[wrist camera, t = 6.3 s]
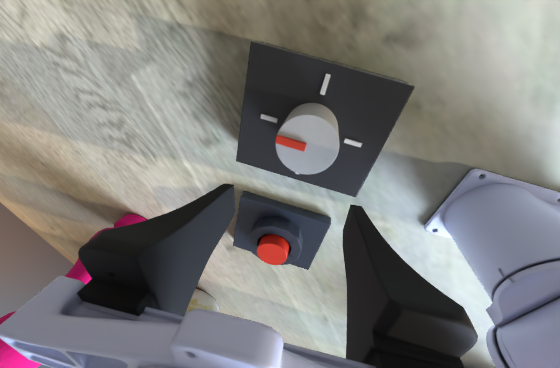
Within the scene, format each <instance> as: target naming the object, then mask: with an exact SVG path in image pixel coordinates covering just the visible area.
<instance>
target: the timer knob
mask: <svg viewBox="0 0 560 368" xmlns="http://www.w3.org/2000/svg"><path fill="white" fill-rule="evenodd" d="M275 143H276V151H277V154H278V157H279V158H280V160H281V162H282V163H283V164H284V165H285V166H286V167H287V168H289V169H290V170H292V171H294V172H297V173H300V174H316V173H319V172H322V171H324V170H325V169H327V168H328V167H329V166H330V165H331V164H332V163H333V162H334V161H335V159H336V157H337V155H338V152H339V132H338V123H337V120H336V117H335V116H334V114H333V113H332V111H330V110H329V109H328V108H327V107H325V106H323V105H321V104H318V103H305V104H302V105H300V106H298V107H296V108H295V109H294V110H292V111H291V113H290V114H289V115H288V117H287V118H286V120H285V122H284V123H283V125H282V126H281V128H280V129H279V131H278V133H277V136H276V141H275Z"/></svg>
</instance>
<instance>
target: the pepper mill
mask: <svg viewBox="0 0 560 368" xmlns="http://www.w3.org/2000/svg"><path fill="white" fill-rule="evenodd" d="M145 220H147V219H145V218H143V217H141V216H138V215H135V214H128V215H125V216H123V217H122V218H121V219H119V220H118V221H117V222H116V223H115V224H114V227H113V228H117V227H121V226H126V225H130V224H134V223H138V222H142V221H145ZM106 229H112V228H105V229H103V230H106ZM101 231H102V230H101ZM101 231H99V232H98V233H96V234H95V235H94V236H93V237H92V238H91V239H93V238H94V237H95V236H96V235H98V234H99V233H100V232H101ZM91 239H90V240H91ZM90 240H89V241H90ZM64 277H68V278H72V279H76V280H79V281H82V282H83V283H85V284H87V283H88V282H89V281H90V280H91V279H92V278H91V276H90V275H89V273H88V272H87V270H86V269H85V267H84V266H83V264H82V263H81V261H80V259H79V258H78V260H77V262H76V263H75V265H74V266H73V268H72V269H71V270H70V271H69V273H68V274H67V275H66V276H64ZM15 312H16V311H15ZM15 312H12V313H9V314H7V315H5V316H3V317H1V318H0V325H1V324H2V323H3V322H4V321H6V320H7V319H8V318H9V317H10V316H11V315H13V314H14V313H15ZM40 365H41V364H40V363H37V362H34V361H31V360H29V359H27V358H26V357H25V356H23V355H22V354H20V353H19V352H18V351H16V350H15V349H14V348H12V347H11V346H10V345H8V344H7V343H6V342H4V341H3V340H1V339H0V368H36V367H38V366H40Z"/></svg>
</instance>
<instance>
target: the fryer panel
mask: <svg viewBox="0 0 560 368" xmlns="http://www.w3.org/2000/svg"><path fill="white" fill-rule="evenodd" d="M414 88H415V86H413V85H411V84H409V83H407V82H405V81H402V80H398V79H395V78H391V77H387V76H384V75H380V74H377V73H373V72H369V71H366V70H362V69H358V68H355V67H351V66H348V65H344V64H340V63H337V62H333V61H329V60H326V59H322V58H318V57H315V56H311V55H308V54H304V53H300V52H297V51H293V50H289V49H286V48H282V47H279V46H275V45H271V44H268V43H264V42H254V41H252V42H251V46H250V54H249V62H248V70H247V78H246V86H245V94H244V102H243V110H242V118H241V126H240V134H239V142H238V150H237V158H236V161H238V162H241V163H244V164H247V165H251V166H254V167H257V168H261V169H264V170H267V171H271V172H274V173H277V174H280V175H284V176H287V177H290V178H294V179H297V180H300V181H304V182H307V183H310V184H313V185H317V186H320V187H323V188H327V189H330V190H333V191H337V192H340V193H343V194H347V195H350V196H353V197H357V195H358V193H359V191H360V189H361V187H362V185H363V183H364V182H365V180H366V178H367V176H368V174H369V172H370V170H371V168H372V167H373V165H374V163H375V161H376V159H377V157H378V155H379V153H380V152H381V150H382V148H383V146H384V144H385V142H386V140H387V139H388V137H389V135H390V133H391V131H392V129H393V127H394V125H395V124H396V122H397V120H398V118H399V116H400V114H401V112H402V110H403V109H404V107H405V105H406V103H407V101H408V99H409V97H410V95H411V94H412V92H413V90H414ZM305 103H318V104H321V105H323V106H325V107H327V108H328V109H329V110H330V111H332V113H333V114H334V116H335V117H336V120H337V123H338V132H339V152H338V155H337V157H336V159H335V161H334V162H333V163H332V164H331V165H330V166H329V167H328V168H327V169H325V170H324V171H322V172H319V173H316V174H300V173H297V172H294V171H292V170H290V169H289V168H287V167H286V166H285V165H284V164H283V163H282V162H281V160H280V158H279V157H278V154H277V151H276V143H275V141H276V136H277V133H278V131H279V129H280V128H281V126H282V125H283V123H284V122H285V120H286V118H287V117H288V115H289V114H290V113H291V111H292V110H294V109H295V108H296V107H298V106H300V105H302V104H305Z"/></svg>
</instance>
